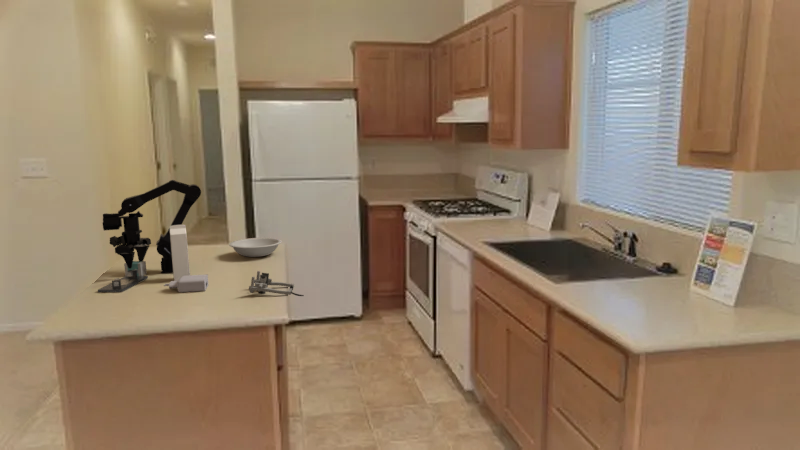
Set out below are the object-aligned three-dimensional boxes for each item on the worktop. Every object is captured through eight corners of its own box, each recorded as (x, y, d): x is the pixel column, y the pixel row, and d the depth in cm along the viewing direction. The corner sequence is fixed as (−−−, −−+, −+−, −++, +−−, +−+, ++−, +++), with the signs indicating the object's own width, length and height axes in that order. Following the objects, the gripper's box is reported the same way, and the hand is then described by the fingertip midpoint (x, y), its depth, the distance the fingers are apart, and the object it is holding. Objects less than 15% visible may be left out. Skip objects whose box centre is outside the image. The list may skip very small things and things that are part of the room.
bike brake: (246, 295, 202) (302, 302, 204) (247, 276, 202) (304, 283, 203) (254, 286, 216) (307, 292, 217) (256, 268, 215) (309, 275, 216)
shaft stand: (147, 278, 233) (146, 268, 232) (121, 292, 213) (120, 281, 212) (126, 278, 233) (125, 268, 232) (97, 292, 213) (96, 281, 212)
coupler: (146, 273, 240) (145, 261, 239) (141, 276, 236) (140, 263, 235) (130, 273, 241) (129, 261, 240) (125, 276, 236) (124, 263, 235)
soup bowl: (276, 261, 259) (275, 246, 258) (223, 262, 259) (222, 247, 258) (287, 250, 283) (286, 237, 282) (238, 251, 283) (237, 237, 282)
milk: (190, 280, 228) (186, 225, 225) (174, 282, 226) (169, 226, 222) (189, 276, 234) (185, 223, 230) (173, 278, 232) (169, 224, 228)
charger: (167, 288, 218) (208, 285, 221) (162, 294, 209) (205, 291, 212) (166, 275, 217) (207, 273, 220) (161, 282, 208) (204, 279, 211)
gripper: (124, 225, 245) (127, 260, 247) (99, 232, 226) (104, 271, 229) (149, 224, 244) (153, 260, 247) (127, 232, 226) (131, 271, 228)
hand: (135, 265), depth 238 cm, fingers open, 9 cm apart
